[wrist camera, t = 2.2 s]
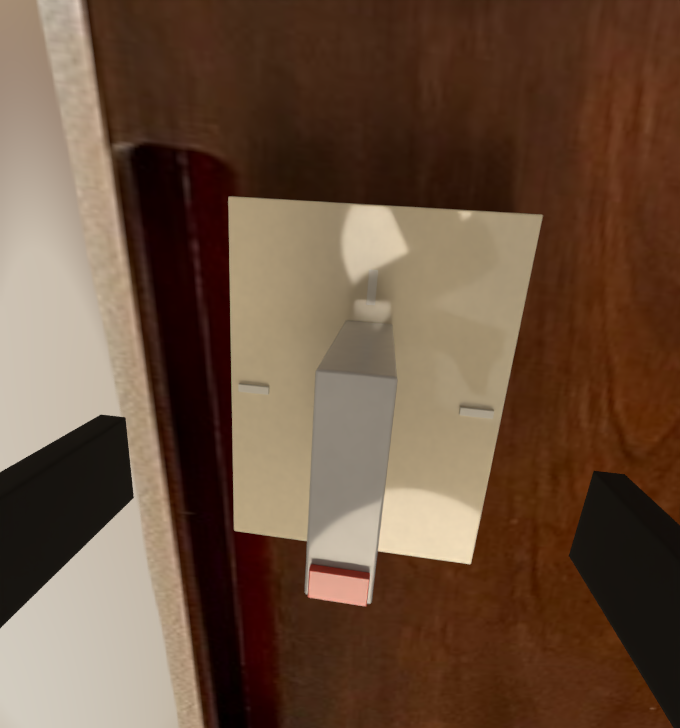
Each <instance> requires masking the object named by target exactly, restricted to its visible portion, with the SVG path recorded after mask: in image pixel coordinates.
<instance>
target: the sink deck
mask: <svg viewBox="0 0 680 728" xmlns="http://www.w3.org/2000/svg"><path fill="white" fill-rule="evenodd" d="M228 209H229V267H230V325H231V382H232V440H233V498H234V531H239V532H246V533H253V534H260V535H267V536H274V537H281V538H288V539H295V540H303V541H307V530H308V510H309V490H310V470H311V450H312V430H313V410H314V390H315V372H316V370H317V368H318V366H319V364H320V363H321V361H322V359H323V358H324V356H325V354H326V353H327V351H328V349H329V348H330V346H331V344H332V343H333V341H334V339H335V338H336V336H337V334H338V332H339V331H340V329H341V327H342V326H343V324H344V322H345V321H346V320H350V321H362V322H373V323H385V324H392V325H393V329H394V341H395V353H396V365H397V376H398V382H397V391H396V400H395V408H394V417H393V425H392V434H391V442H390V451H389V460H388V468H387V477H386V485H385V494H384V502H383V511H382V520H381V528H380V537H379V545H378V551H380V552H387V553H394V554H401V555H408V556H415V557H422V558H429V559H436V560H443V561H450V562H457V563H464V564H471V562H472V557H473V552H474V547H475V542H476V537H477V533H478V528H479V523H480V518H481V513H482V508H483V503H484V499H485V494H486V489H487V484H488V479H489V474H490V470H491V465H492V460H493V455H494V450H495V445H496V440H497V436H498V431H499V426H500V421H501V416H502V411H503V407H504V402H505V397H506V392H507V387H508V382H509V377H510V373H511V368H512V363H513V358H514V353H515V348H516V343H517V339H518V334H519V329H520V324H521V319H522V314H523V310H524V305H525V300H526V295H527V290H528V285H529V280H530V276H531V271H532V266H533V261H534V256H535V251H536V247H537V242H538V237H539V232H540V227H541V222H542V217H543V215H542V214H527V213H509V212H492V211H475V210H458V209H441V208H423V207H406V206H389V205H372V204H355V203H337V202H320V201H303V200H286V199H269V198H251V197H234V196H229V197H228Z"/></svg>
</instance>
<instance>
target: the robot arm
mask: <svg viewBox="0 0 680 728" xmlns="http://www.w3.org/2000/svg"><path fill="white" fill-rule="evenodd" d="M133 498H134V497H133V487H132V477H131V468H130V458H129V448H128V438H127V429H126V419H125V417H116V416H108V415H100V416H98V417H96V418H94V419H93V420H91V421H89V422H87V423H86V424H84V425H82V426H80V427H79V428H77V429H75V430H73V431H72V432H70V433H68V434H66V435H65V436H63V437H61V438H59V439H58V440H56V441H54V442H52V443H51V444H49V445H47V446H45V447H44V448H42V449H40V450H38V451H37V452H35V453H33V454H31V455H30V456H28V457H26V458H24V459H23V460H21V461H19V462H17V463H16V464H14V465H12V466H10V467H9V468H7V469H5V470H4V471H2V472H0V628H1V627H2V626H3V625H4V624H5V623H6V622H7V621H8V620H9V619H10V618H11V617H12V616H13V615H14V614H15V613H16V612H17V611H18V610H19V609H20V608H21V607H22V606H23V605H24V604H25V603H26V602H27V601H28V600H29V599H30V598H31V597H32V596H34V594H36V593H37V592H38V590H40V589H41V588H42V587H43V586H44V585H45V584H46V583H47V582H48V581H49V580H50V579H51V578H52V577H53V576H54V575H55V574H56V573H57V572H58V571H59V570H60V569H61V568H62V567H63V566H64V565H65V564H66V563H67V562H68V561H69V560H70V559H71V558H72V557H73V556H74V555H75V554H77V553H78V551H80V550H81V549H82V548H83V546H85V545H86V544H87V543H88V542H89V541H90V540H91V539H92V538H93V537H94V536H95V535H96V534H97V533H98V532H99V531H100V530H101V529H102V528H103V527H104V526H105V525H106V524H107V523H108V522H109V521H110V520H111V519H112V518H113V517H114V516H115V515H116V514H117V513H118V512H119V511H120V510H122V509H123V507H125V506H126V505H127V504H128V503H129V502H130V501H131V500H132V499H133ZM569 557H570V558H571V560H572V561H573V563H574V565H575V566H576V568H577V570H578V571H579V573H580V575H581V576H582V578H583V580H584V581H585V583H586V584H587V586H588V588H589V589H590V591H591V593H592V594H593V596H594V598H595V599H596V601H597V603H598V604H599V606H600V607H601V609H602V611H603V612H604V614H605V616H606V617H607V619H608V621H609V622H610V624H611V626H612V627H613V629H614V630H615V632H616V634H617V635H618V637H619V639H620V640H621V642H622V644H623V645H624V647H625V649H626V650H627V652H628V654H629V655H630V657H631V658H632V660H633V662H634V663H635V665H636V667H637V668H638V670H639V672H640V673H641V675H642V677H643V678H644V680H645V681H646V683H647V685H648V686H649V688H650V690H651V691H652V693H653V695H654V696H655V698H656V700H657V701H658V703H659V704H660V706H661V708H662V709H663V711H664V713H665V714H666V716H667V718H668V719H669V721H670V723H671V724H672V726H673V727H674V728H680V525H679V524H678V523H677V522H675V521H674V520H673V519H672V518H671V517H670V516H669V515H668V514H667V513H666V512H665V511H664V510H662V509H661V508H660V507H659V506H658V505H657V504H656V503H655V502H654V501H653V500H652V499H651V498H650V497H648V496H647V495H646V494H645V493H644V492H643V491H642V490H641V489H640V488H639V487H638V486H637V485H635V484H634V483H633V482H632V481H631V480H630V479H629V478H628V477H627V476H626V475H625V474H617V473H608V472H599V471H594V472H593V476H592V479H591V482H590V486H589V489H588V493H587V496H586V499H585V503H584V506H583V510H582V513H581V517H580V520H579V523H578V527H577V530H576V534H575V537H574V540H573V544H572V547H571V551H570V554H569Z"/></svg>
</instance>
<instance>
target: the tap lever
mask: <svg viewBox="0 0 680 728" xmlns="http://www.w3.org/2000/svg"><path fill="white" fill-rule="evenodd" d="M397 382H398V376H397V365H396V353H395V341H394V329H393V325H392V324H385V323H373V322H362V321H350V320H346V321H345V322H344V324H343V326H342V327H341V329H340V331H339V332H338V334H337V336H336V338H335V339H334V341H333V343H332V344H331V346H330V348H329V349H328V351H327V353H326V354H325V356H324V358H323V359H322V361H321V363H320V364H319V366H318V368H317V370H316V372H315V390H314V410H313V430H312V450H311V470H310V490H309V510H308V530H307V550H306V570H305V590H304V591H305V594H307V595H308V598H314V599H321V600H327V601H334V602H340V603H346V604H353V605H359V606H367V604H371V602H372V597H373V588H374V580H375V571H376V562H377V554H378V545H379V537H380V528H381V520H382V511H383V502H384V494H385V485H386V477H387V468H388V460H389V451H390V442H391V434H392V425H393V417H394V408H395V400H396V391H397Z"/></svg>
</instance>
